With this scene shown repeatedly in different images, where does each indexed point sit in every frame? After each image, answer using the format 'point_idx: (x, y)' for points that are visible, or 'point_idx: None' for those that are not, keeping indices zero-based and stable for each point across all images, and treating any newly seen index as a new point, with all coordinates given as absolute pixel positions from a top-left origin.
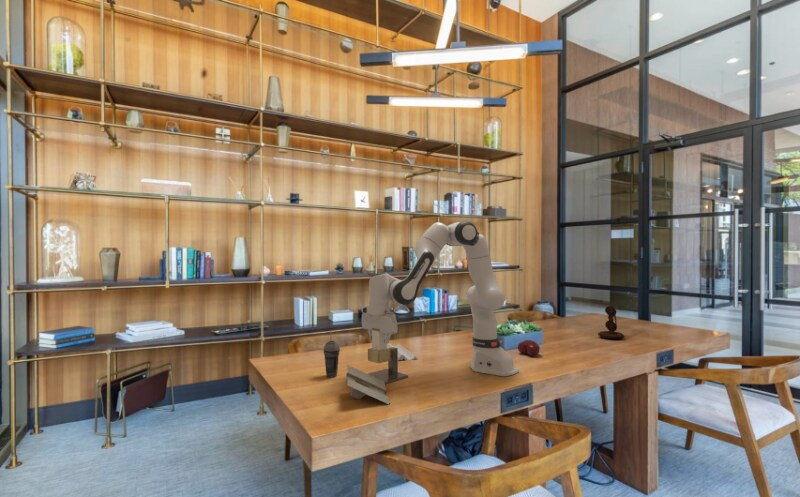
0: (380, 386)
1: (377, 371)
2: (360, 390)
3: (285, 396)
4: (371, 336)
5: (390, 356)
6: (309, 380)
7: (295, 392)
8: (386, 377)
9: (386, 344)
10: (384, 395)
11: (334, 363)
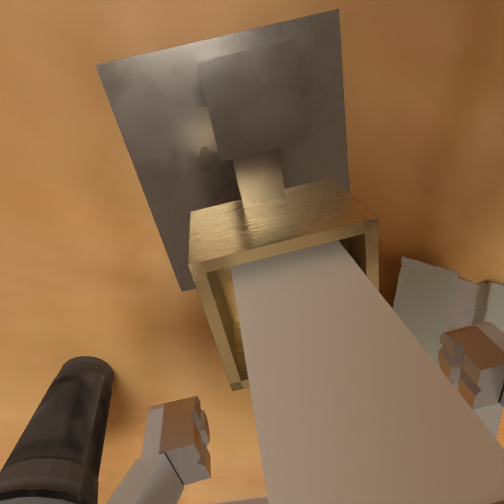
0: (447, 300)
1: (142, 168)
2: (498, 411)
3: (243, 493)
4: (202, 479)
5: (344, 191)
6: (113, 441)
7: (225, 476)
8: (290, 177)
9: (373, 288)
10: (492, 300)
11: (102, 434)
